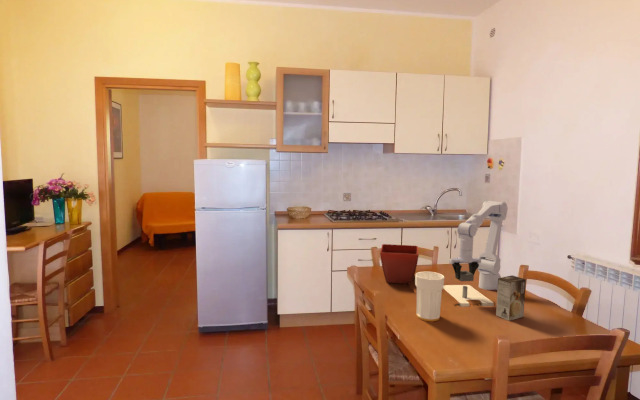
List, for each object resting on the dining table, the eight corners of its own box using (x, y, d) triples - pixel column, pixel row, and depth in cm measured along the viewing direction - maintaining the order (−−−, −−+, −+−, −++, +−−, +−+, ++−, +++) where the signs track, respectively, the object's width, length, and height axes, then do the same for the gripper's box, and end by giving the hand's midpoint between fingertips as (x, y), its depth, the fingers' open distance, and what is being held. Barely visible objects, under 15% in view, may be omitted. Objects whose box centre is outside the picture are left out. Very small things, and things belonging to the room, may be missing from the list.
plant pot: (379, 284, 200) (379, 251, 198) (381, 273, 218) (382, 243, 216) (417, 287, 196) (418, 254, 194) (416, 275, 214) (417, 245, 212)
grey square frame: (466, 277, 181) (467, 270, 181) (473, 280, 176) (473, 274, 175) (454, 277, 180) (455, 271, 180) (461, 281, 175) (461, 274, 174)
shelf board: (469, 287, 195) (469, 275, 195) (493, 306, 171) (494, 291, 171) (439, 288, 194) (440, 275, 193) (460, 306, 170) (461, 292, 170)
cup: (438, 325, 151) (440, 281, 150) (409, 318, 157) (411, 276, 155) (445, 315, 161) (447, 274, 159) (418, 309, 167) (420, 269, 165)
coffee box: (510, 311, 166) (512, 274, 164) (523, 317, 160) (526, 279, 158) (495, 315, 161) (497, 277, 160) (509, 321, 156) (511, 282, 154)
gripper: (476, 246, 181) (474, 275, 183) (446, 247, 179) (445, 276, 181) (484, 250, 174) (482, 280, 176) (454, 251, 172) (452, 281, 174)
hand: (464, 278), depth 178 cm, fingers closed on grey square frame, 6 cm apart
